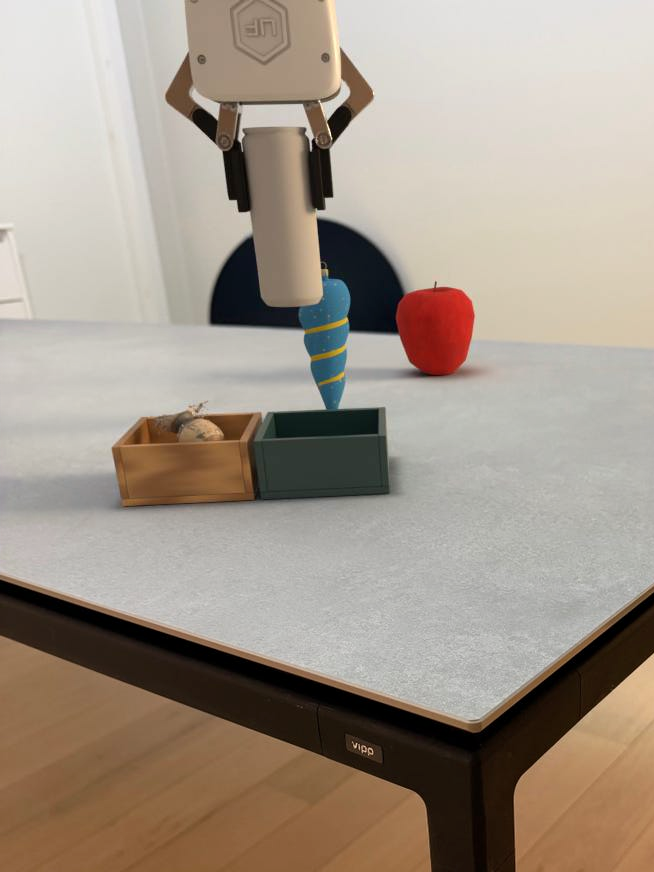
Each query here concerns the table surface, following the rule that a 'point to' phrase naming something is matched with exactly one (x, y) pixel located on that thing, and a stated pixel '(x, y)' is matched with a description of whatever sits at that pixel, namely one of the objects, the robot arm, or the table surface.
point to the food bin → (188, 463)
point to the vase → (190, 426)
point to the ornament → (328, 338)
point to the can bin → (323, 453)
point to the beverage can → (283, 215)
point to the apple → (436, 328)
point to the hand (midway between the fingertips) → (282, 207)
